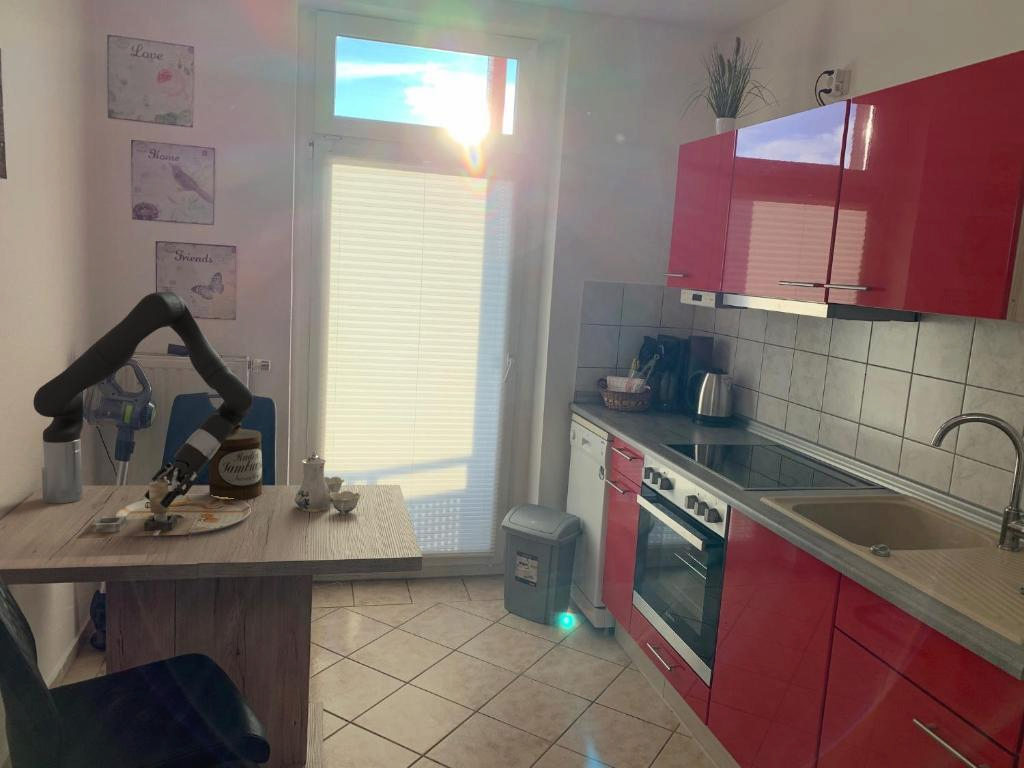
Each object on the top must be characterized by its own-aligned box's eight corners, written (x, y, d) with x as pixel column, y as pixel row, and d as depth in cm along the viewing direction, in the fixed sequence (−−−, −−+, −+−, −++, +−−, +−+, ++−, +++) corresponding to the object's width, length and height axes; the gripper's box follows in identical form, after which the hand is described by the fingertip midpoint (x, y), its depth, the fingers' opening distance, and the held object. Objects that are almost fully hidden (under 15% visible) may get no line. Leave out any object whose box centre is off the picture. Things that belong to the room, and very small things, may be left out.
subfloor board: (76, 544, 194) (76, 530, 194) (93, 526, 208) (93, 512, 207) (187, 540, 200) (187, 526, 199) (197, 522, 213) (197, 509, 213)
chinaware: (369, 521, 224) (375, 462, 223) (310, 523, 215) (316, 462, 214) (333, 496, 248) (339, 442, 247) (279, 497, 239) (284, 441, 237)
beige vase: (149, 529, 202) (146, 485, 201) (153, 524, 206) (150, 481, 205) (168, 527, 203) (165, 484, 202) (172, 522, 207) (169, 480, 206)
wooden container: (225, 503, 231) (224, 427, 228) (200, 492, 241) (198, 419, 238) (271, 494, 242) (271, 421, 239) (246, 484, 252) (245, 414, 249)
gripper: (174, 437, 212) (131, 488, 205) (201, 446, 203) (157, 499, 196) (194, 454, 217) (152, 504, 210) (221, 464, 207) (179, 516, 200)
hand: (155, 502), depth 203 cm, fingers open, 8 cm apart
